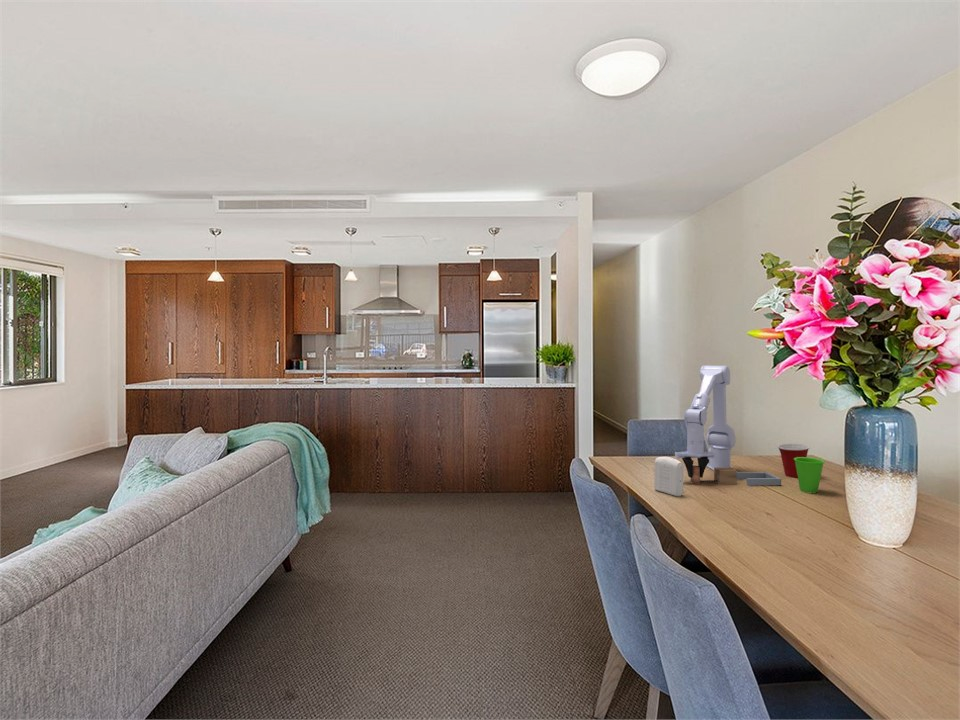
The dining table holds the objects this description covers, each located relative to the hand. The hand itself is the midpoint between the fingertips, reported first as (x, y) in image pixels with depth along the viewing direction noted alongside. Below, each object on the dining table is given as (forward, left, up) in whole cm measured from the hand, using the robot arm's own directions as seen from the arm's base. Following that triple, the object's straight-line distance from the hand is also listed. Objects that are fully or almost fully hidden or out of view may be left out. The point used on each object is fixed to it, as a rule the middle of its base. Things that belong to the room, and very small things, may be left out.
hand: (695, 477), depth 189 cm
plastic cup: (-9, +41, -2) cm, 43 cm away
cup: (+12, +34, -2) cm, 37 cm away
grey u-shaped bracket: (0, +22, -2) cm, 23 cm away
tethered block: (0, +6, -2) cm, 7 cm away
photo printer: (+13, -15, -2) cm, 20 cm away
